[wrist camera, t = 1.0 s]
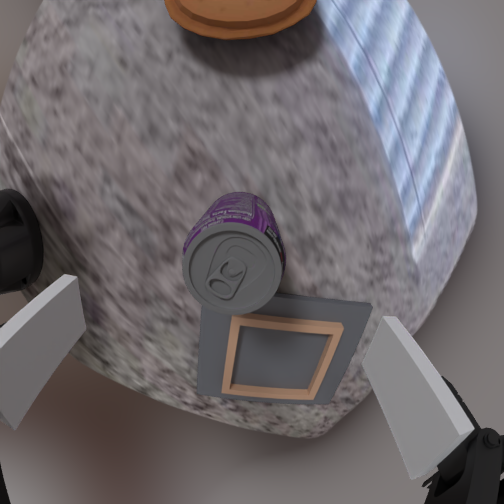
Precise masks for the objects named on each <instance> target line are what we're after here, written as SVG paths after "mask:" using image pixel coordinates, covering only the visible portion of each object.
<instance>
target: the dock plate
mask: <svg viewBox="0 0 504 504" xmlns="http://www.w3.org/2000/svg"><path fill="white" fill-rule="evenodd" d="M372 308H373V307H372V305H371V304H370V303H363V302H353V301H343V300H333V299H324V298H315V297H307V296H298V295H290V294H282V293H275V294H274V296H273V297H272V298H271V299H270V300H269V301H268V302H267V303H266V304H265V305H264V306H262V307H261V308H259V309H257V310H255V311H253V312H250V313H247V314H242V315H226V314H221V313H217V312H214V311H212V310H210V309H208V308H206V307H204V306H203V305H202V310H201V324H200V339H199V356H198V376H197V394H200V395H207V396H213V397H220V398H228V399H236V400H245V401H255V402H268V403H285V404H329V402H330V401H331V399H332V397H333V395H334V393H335V391H336V389H337V387H338V385H339V383H340V381H341V379H342V377H343V375H344V373H345V371H346V369H347V367H348V365H349V363H350V361H351V358H352V356H353V354H354V352H355V349H356V347H357V345H358V343H359V340H360V338H361V336H362V333H363V331H364V328H365V326H366V323H367V321H368V318H369V316H370V313H371V311H372Z"/></svg>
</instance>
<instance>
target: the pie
mask: <svg viewBox="0 0 504 504" xmlns="http://www.w3.org/2000/svg"><path fill="white" fill-rule="evenodd" d="M164 1H165V5H166V8H167V10H168V12H169V15H170V17H171V18H172V19H173V20H174V21H175V22H177V23H178V24H179V25H180V26H182V27H183V28H184V29H186V30H189V31H191V32H194V33H196V34H198V35H201V36H205V37H211V38H217V39H222V40H235V39H251V38H256V37H261V36H267V35H273V34H275V33H277V32H279V31H282V30H284V29H286V28H288V27H290V26H293V25H294V24H296V23H297V22H299V21H300V20H302V19H303V18H305V17H306V16H308V15H309V14H310V12H311V10H312V9H313V7H314V5H315V4H316V1H317V0H164Z"/></svg>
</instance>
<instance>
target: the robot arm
mask: <svg viewBox="0 0 504 504" xmlns="http://www.w3.org/2000/svg"><path fill="white" fill-rule="evenodd" d="M42 262H43V245H42V238H41V233H40V229H39V225H38V222H37V220H36V217H35V215H34V212H33V210H32V208H31V207H30V205H29V203H28V202H27V200H26V199H25V198H24V197H23V196H22V195H21V194H20V193H19V192H17V191H15V190H13V189H4V190H0V295H1V294H6V293H10V292H15V291H20V290H23V289H25V288H26V287H28V286H29V285H31V284H32V283H33V282H35V281H36V279H37V278H38V276H39V274H40V272H41V268H42ZM86 329H87V328H86V324H85V319H84V314H83V308H82V303H81V297H80V290H79V283H78V277H76V276H72V275H67V274H64V275H63V276H61V277H60V278H59V279H58V280H56V281H55V282H54V283H52V284H51V285H50V286H49V287H47V288H46V289H45V290H44V291H43V292H41V293H40V294H39V295H38V296H36V297H35V298H34V299H33V300H32V301H31V302H29V303H28V304H27V305H26V306H25V307H24V308H22V309H21V310H20V311H19V312H18V313H17V314H16V315H14V316H13V317H12V318H11V319H10V320H9V321H8V322H6V323H4V324H2V325H0V420H1V421H2V422H3V423H5V424H6V425H8V426H9V427H10V428H12V429H13V430H16V428H17V427H18V425H19V423H20V422H21V420H22V418H23V417H24V415H25V414H26V412H27V411H28V409H29V408H30V406H31V404H32V403H33V401H34V400H35V398H36V397H37V395H38V394H39V392H40V391H41V390H42V388H43V387H44V385H45V384H46V382H47V381H48V379H49V378H50V377H51V375H52V374H53V372H54V371H55V370H56V368H57V367H58V366H59V364H60V363H61V361H62V360H63V359H64V357H65V356H66V355H67V354H68V352H69V351H70V350H71V348H72V347H73V346H74V344H75V343H76V342H77V341H78V339H79V338H80V337H81V335H82V334H83V333H84V332H85V330H86ZM362 366H363V368H364V370H365V373H366V375H367V377H368V379H369V381H370V383H371V386H372V388H373V390H374V392H375V394H376V397H377V399H378V401H379V403H380V406H381V408H382V410H383V413H384V415H385V417H386V420H387V422H388V424H389V427H390V429H391V432H392V434H393V436H394V439H395V441H396V444H397V446H398V449H399V451H400V454H401V456H402V459H403V461H404V464H405V467H406V469H407V471H408V474H409V477H410V480H412V479H415V478H418V477H421V476H423V475H426V474H428V473H429V472H430V471H431V470H432V469H434V468H435V467H436V466H437V467H438V470H439V471H438V472H436V473H435V474H434V475H433V476H432V477H430V478H429V479H428V480H426V481H425V482H424V483H423V485H422V487H425V486H426V485H427V484H428V483H430V482H431V481H432V483H431V484H430V485H429V486H428V487H427V488H429V492H428V495H427V498H426V500H425V503H424V504H504V479H502V480H501V481H500V475H501V474H502V473H503V472H504V435H501V436H500V435H499V434H498V433H497V432H496V431H495V430H493V429H491V428H484V429H481V428H480V426H479V425H478V423H477V422H476V420H475V418H474V417H473V415H472V414H471V412H470V411H469V409H468V408H467V406H466V405H465V403H464V402H462V398H461V397H460V396H459V395H458V392H457V391H456V390H455V388H454V387H453V385H452V384H451V383H450V382H449V381H448V380H446V379H445V378H444V377H443V376H440V375H439V373H438V372H437V370H436V369H435V368H434V366H433V365H432V363H431V362H430V361H429V359H428V358H427V356H426V355H425V354H424V352H423V351H422V350H421V348H420V347H419V346H418V344H417V343H416V342H415V340H414V339H413V338H412V336H411V335H410V334H409V332H408V331H407V330H406V329H405V327H404V326H403V325H402V323H401V322H400V321H399V320H398V318H397V317H392V316H382V318H381V321H380V323H379V326H378V328H377V331H376V333H375V335H374V338H373V340H372V342H371V344H370V347H369V349H368V351H367V353H366V356H365V358H364V360H363V362H362ZM0 504H11V503H10V500H9V496H8V493H7V489H6V486H5V482H4V478H3V474H2V469H1V464H0Z"/></svg>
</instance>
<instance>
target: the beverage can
mask: <svg viewBox="0 0 504 504" xmlns="http://www.w3.org/2000/svg"><path fill="white" fill-rule="evenodd" d="M182 262H183V265H182V270H183V277H184V281H185V284H186V286H187V288H188V290H189V292H190V293H191V294H192V296H193V297H194V298H195V299H196V300H197V301H198V302H199V303H200V304H202V305H203V306H204V307H206V308H208V309H210V310H212V311H214V312H217V313H221V314H226V315H242V314H247V313H250V312H253V311H255V310H257V309H259V308H261V307H262V306H264V305H265V304H266V303H267V302H268V301H269V300H270V299H271V298H272V297H273V296H274V294H275V293H276V291H277V289H278V287H279V284H280V281H281V279H282V277H283V274H284V270H285V265H286V255H285V248H284V245H283V242H282V239H281V236H280V233H279V230H278V227H277V224H276V221H275V218H274V216H273V213H272V211H271V209H270V208H269V206H268V205H267V204H266V203H265V202H264V201H263V200H262V199H260V198H259V197H257V196H255V195H253V194H250V193H245V192H234V193H230V194H227V195H224V196H222V197H221V198H219V199H218V200H217V201H215V202H214V203H213V205H212V206H211V207H210V208H209V209H208V210H207V212H206V213H205V214H204V215H203V216H202V218H201V219H200V220H199V221H198V222H197V223H196V225H195V226H194V227H193V228H192V230H191V231H190V233H189V234H188V236H187V238H186V241H185V243H184V247H183V253H182Z"/></svg>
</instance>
